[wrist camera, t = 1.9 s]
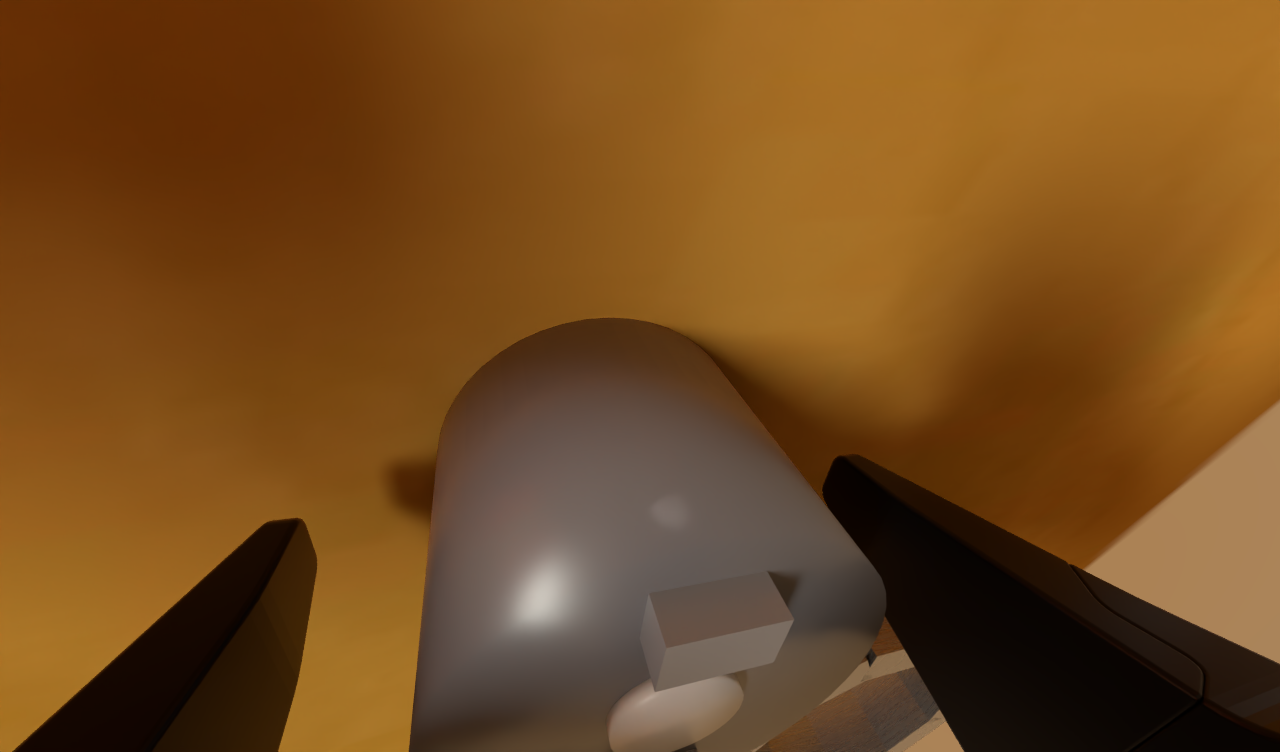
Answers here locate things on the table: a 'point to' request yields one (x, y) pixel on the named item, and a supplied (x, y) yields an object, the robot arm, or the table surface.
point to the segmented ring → (867, 708)
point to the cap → (626, 559)
